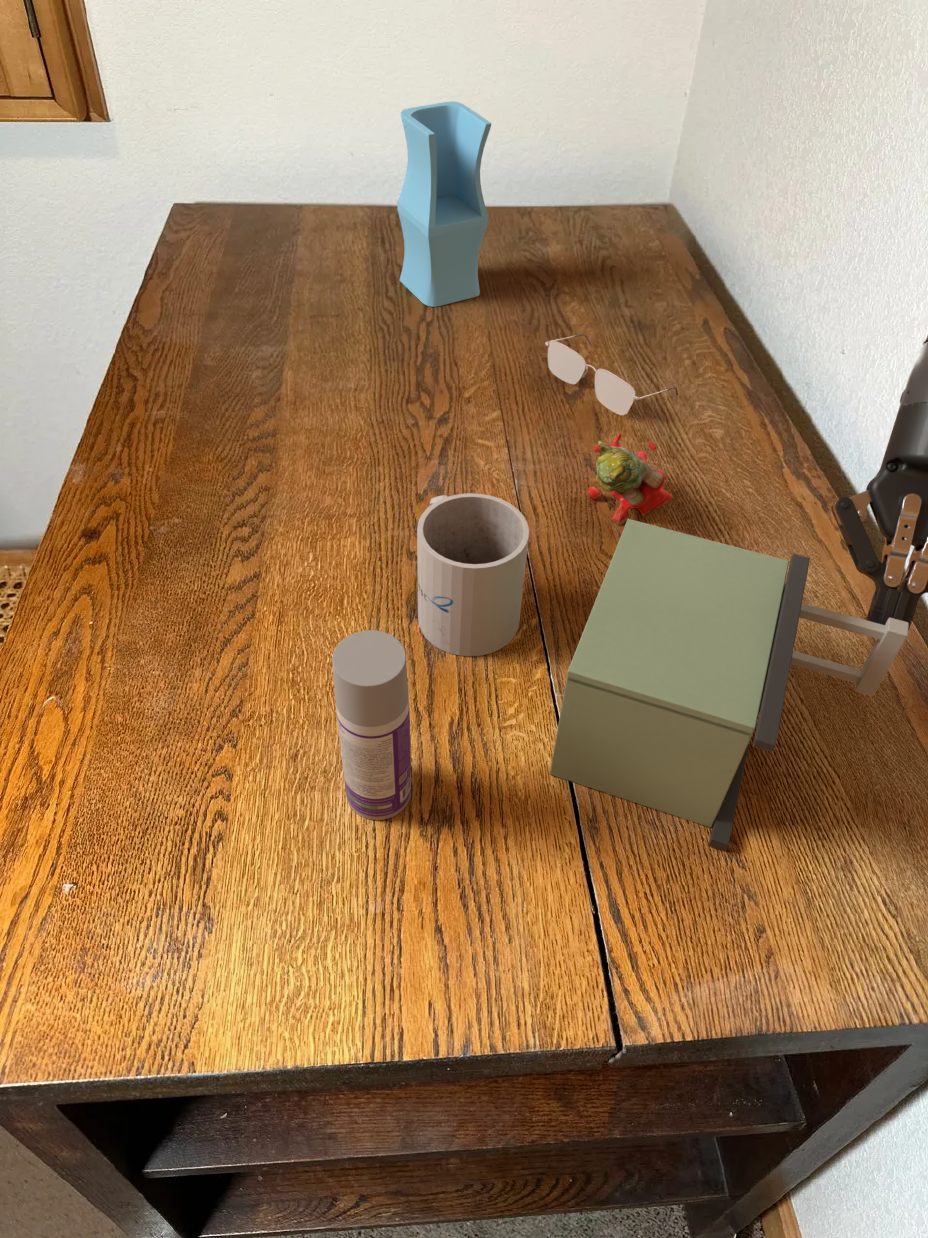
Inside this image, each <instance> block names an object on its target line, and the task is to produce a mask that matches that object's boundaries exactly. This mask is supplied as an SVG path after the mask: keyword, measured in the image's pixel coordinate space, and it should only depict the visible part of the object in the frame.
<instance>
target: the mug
mask: <svg viewBox="0 0 928 1238" xmlns="http://www.w3.org/2000/svg"><path fill="white" fill-rule="evenodd" d="M529 537H530V528H529V524H528V521H527V520H526V517H525V516H524V515H523V514H522V512H521V511H520V510H519V509H518V508H517V507H515V506H514V505H513V504H512V503H510V502H508V501H506V500H504V499H502V498H499V497H496V496H493V495H491V494H490V495H488V494H484V493H476V492H475V493H474V492H469V493H458V494H452V495H445V494H444V495H443V494H441V495H438V496H435V497H432V498H431V499H430V501H429V503H428V507H427V508H426V509H425V510H424V511H423V513H422V514H421V515H420V517H419V519H418V522H417V527H416V542H417V543H416V544H417V546H416V548H417V549H416V550H417V552H416V553H417V556H416V557H417V558H416V559H417V561H416V563H417V567H416V568H417V622H418V626H419V629H420V631H421V633H422V635H423V636H424V637H425V640H427V641H428V642H429V643H430V644H431V645H433V646H434V647H436V648H438V649H439V650H441V651H444V652H446V653H448V654H451V655H456V656H462V657H480V656H484V655H489V654H492V653H495V652H497V651H499V650H502V648H504V647H505V646H507V645H508V644H510V642H511V641H513V639H514V638H515V636H516V634H517V633H518V630H519V628H520V621H521V620H520V619H521V610H522V601H523V593H524V585H525V575H526V574H525V573H526V566H527V557H528V548H529V547H528V546H529V540H530V539H529Z"/></svg>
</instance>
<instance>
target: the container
mask: <svg viewBox="0 0 928 1238" xmlns="http://www.w3.org/2000/svg"><path fill="white" fill-rule="evenodd" d="M331 663H332V675H333V676H332V677H333V689H334V701H335V702H334V703H335V713H336V714H335V715H336V722H337V731H338V738H339V739H338V740H339V746H340V755H341V763H342V771H343V772H342V773H343V779H344V787H345V795H346V800H347V804H348V805H349V807H350V808H351V810H352V811H353V812H354V813H355V814H357V815H358V816H360V817H362V818H364V819H366V820H370V821H371V820H372V821H382V820H388V819H391V818H393V817H396V816H397V815H398V814H400V813H402V812H403V810H405V808H406V807H407V805H409V802H410V800H411V796H412V765H411V764H412V762H411V761H412V759H411V758H412V757H411V723H410V722H411V721H410V719H411V717H410V715H411V714H410V713H411V712H410V697H409V696H410V695H409V694H410V693H409V682H408V680H409V679H408V669H407V668H408V665H407V653H406V649H405V647H404V646H403V644H402V643H401V641H399V639H398V638H397V637H396V636H393V635H391V634H390V633H387V632H384V631H381V630H375V629H374V630H373V629H367V630H361V631H357V632H354V633H351V634H349V635H347V636H346V637H344V638H343V639H342V640H341V641H339V643H338V644H337V645H336V646H335V648H334V650H333V653H332V657H331Z"/></svg>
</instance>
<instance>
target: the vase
mask: <svg viewBox="0 0 928 1238" xmlns="http://www.w3.org/2000/svg"><path fill="white" fill-rule="evenodd" d="M400 118H401V122H402V126H403V131H404V136H405V142H406V149H407V150H406V151H407V164H406V173H405V177H404V182H403V184H402V188H401V191H400V193H399V197H398V199H397V213H398V217H399V221H400V226H401V229H402V237H403V245H404V253H403V254H404V256H403V263H402V268H401V272H400V277H399V282H400V283H401V284H402V285H403V286H404V287H405V288H406V289H407V290H408V291H409V292H410V293H412V295H414V297H415V298H417V300H419V301H420V303H422V304H423V305H425V306H427V307H432V308H435V307H442V306H445V305H450V304H453V303H456V302H457V303H458V302H461V301H464V300H465V301H466V300H469V299H472V298H477V297H478V296H480V294H481V290H480V283H479V271H478V270H479V257H480V252H481V247H482V243H483V239H484V236H485V233H486V231H487V227H488V223H489V213H488V210H487V207H486V203H485V200H484V196H483V189H482V183H481V167H482V159H483V154H484V150H485V146H486V142H487V140H488V137H489V134H490V131H491V127H492V122H491V121H489V120H487V119H486V118H484V117H483V116H481V115H480V114H479V113H477V112H476V111H474V110H473V109H471V108H470V107H468V106H466V105H465V104H464V103H462V102H459V101H453V100H451V101H450V100H449V101H443V102H437V103H431V104H425V105H420V106H415V107H414V106H413V107H409V108H405V109H403V110H401V112H400Z"/></svg>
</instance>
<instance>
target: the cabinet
mask: <svg viewBox="0 0 928 1238" xmlns="http://www.w3.org/2000/svg"><path fill="white" fill-rule="evenodd" d="M623 528H624V530H623V532H622V531H621V535H620V537H619V540H618V543H617V545H616V548H615V550H614V553H613V555H612V558H611V560H610V562H609V565H608V568H607V570H606V573H605V575H604V578H603V579H602V583H601V585H600V587H599V591H598V593H597V594H596V595H597V596H596V598H595V601H594V602H593V606H592V607H591V610H590V613H589V615H588V618H587V620H586V624H585V626H584V629H583V631H582V634H581V637H580V639H579V641H578V644H577V646H576V648H575V652H574V654H573V656H572V659H571V661H570V664H569V665H568V669H567V673H566V679H565V683H564V690H563V697H562V700H561V706H560V713H559V719H558V724H557V730H556V736H555V741H554V747H553V753H552V759H551V763H550V770H549V775H550V776H553V777H557V778H560V779H563V780H566V781H568V782H571V783H575V784H578V785H580V786H584V787H587V788H589V789H593V790H596V791H598V792H602V793H605V794H608V795H611V796H613V797H617V798H621V799H623V800H626V801H629V802H631V803H635V804H639V805H641V806H644V807H647V808H650V809H653V810H656V811H660V812H662V813H666V814H668V815H672V816H674V817H676V818H677V817H678V818H680V819H684V820H686V821H689V822H693V823H696V824H698V825H701V826H705V827H707V828H711V832H710V837H709V841H708V847H710V848H713V849H715V850H719V851H722V852H726V851H727V849H728V848H729V845H730V840H731V836H732V831H733V826H734V822H735V815H736V812H737V808H738V807H737V806H738V803H739V802H738V801H739V796H740V792H741V788H742V787H741V786H742V783H743V778H744V772H745V767H746V762H747V758H748V753H749V749H750V748H749V747H750V743H751V739H752V737H753V734H754V732H755V734H754V739H753V743H752V747H753V748H756V749H758V750H762V751H765V752H769V753H773V752H774V751H775V749H776V747H777V744H778V743H777V742H778V737H779V732H780V727H781V722H782V721H781V720H782V715H783V710H784V704H785V698H786V694H787V687H788V683H789V682H788V681H789V677H790V670H791V667H792V666H791V660H792V655H793V651H794V649H795V643H796V638H797V632H798V627H799V621H800V618H799V616H800V611H801V605H802V603H803V600H804V593H805V588H806V583H807V576H808V572H809V566H810V561H811V558H810V557H809V556H805V555H801V554H798V553H792V556H791V558H790V561H789V560H786V559H783V558H779V557H775V556H771V555H769V554H768V555H767V554H763V553H760V552H756V551H753V550H749V549H744V548H741V547H737V546H733V545H729V544H727V543H722V542H718V541H714V540H712V539H711V540H710V539H707V538H702V537H701V536H700V537H699V536H696V535H691V534H688V533H685V532H680V531H676V530H672V529H668V528H665V527H661V526H657V525H654V524H649V523H646V522H642V521H638V520H634V519H631V518H627V519H626V522H625V525H624V526H623ZM785 583H786V585H785ZM784 585H785V590H784V595H783V600H782V605H781V610H780V615H779V619H778V614H779V609H780V604H781V599H782V594H783V589H784ZM777 619H778V624H777ZM776 624H777V629H776ZM775 629H776V634H775ZM774 634H775V639H774ZM773 639H774V644H773V649H772V654H771V659H770V664H769V669H768V674H767V679H766V684H765V689H764V694H763V699H762V704H761V708H760V713H759V715H758V712H759V707H760V703H761V698H762V693H763V688H764V683H765V678H766V673H767V668H768V663H769V658H770V653H771V648H772V643H773Z"/></svg>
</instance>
